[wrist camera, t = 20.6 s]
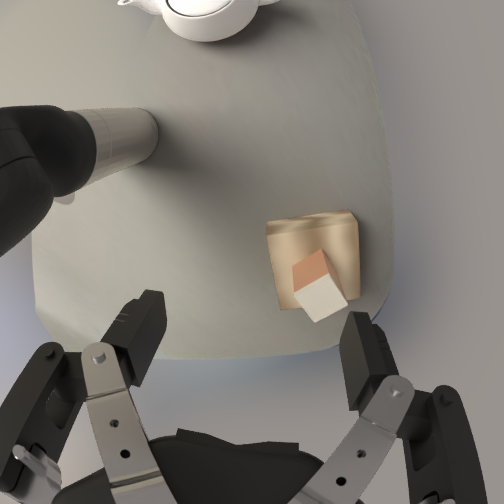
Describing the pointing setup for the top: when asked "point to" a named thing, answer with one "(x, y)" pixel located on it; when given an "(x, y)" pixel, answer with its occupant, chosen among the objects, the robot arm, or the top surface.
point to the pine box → (314, 250)
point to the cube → (318, 286)
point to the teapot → (204, 27)
